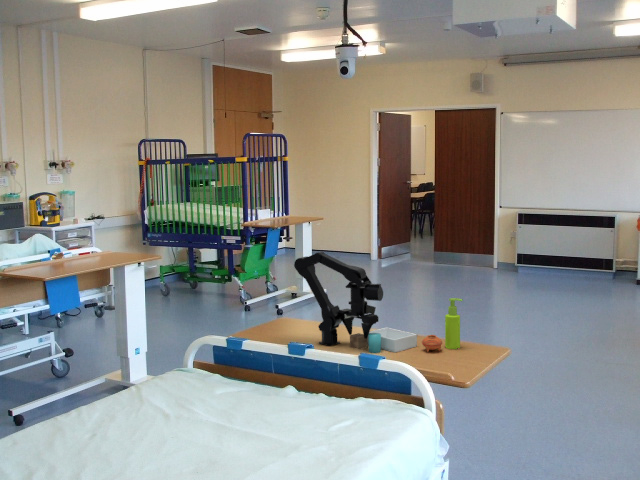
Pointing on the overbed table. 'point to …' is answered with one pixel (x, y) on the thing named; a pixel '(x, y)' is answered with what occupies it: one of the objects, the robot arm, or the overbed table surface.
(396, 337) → the tote
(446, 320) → the soap dispenser
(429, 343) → the pot
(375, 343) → the teal cylinder
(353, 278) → the robot arm
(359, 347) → the walnut cube
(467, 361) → the overbed table surface
